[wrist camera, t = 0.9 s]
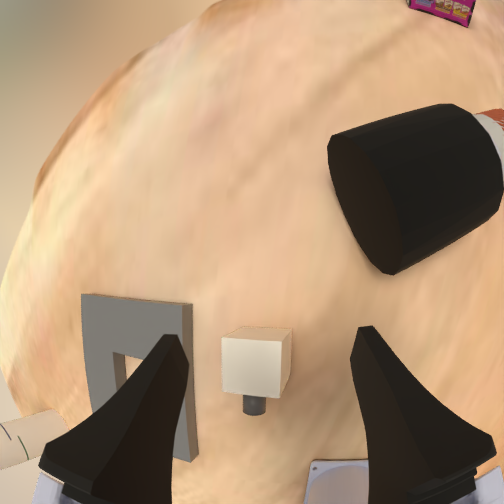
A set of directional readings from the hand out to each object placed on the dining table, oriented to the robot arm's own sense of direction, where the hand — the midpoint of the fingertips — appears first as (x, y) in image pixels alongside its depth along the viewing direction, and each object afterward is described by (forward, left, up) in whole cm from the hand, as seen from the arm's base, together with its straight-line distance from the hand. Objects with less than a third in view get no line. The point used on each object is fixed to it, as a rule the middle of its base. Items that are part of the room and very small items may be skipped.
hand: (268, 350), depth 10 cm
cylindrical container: (-26, +40, -13) cm, 49 cm away
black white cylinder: (+14, -20, -14) cm, 28 cm away
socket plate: (-9, +18, -13) cm, 24 cm away
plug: (-4, +3, -13) cm, 14 cm away
